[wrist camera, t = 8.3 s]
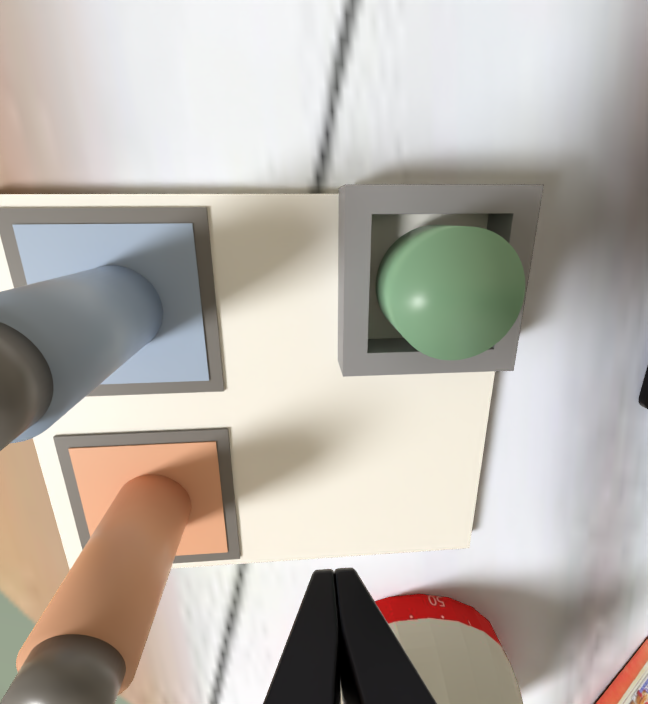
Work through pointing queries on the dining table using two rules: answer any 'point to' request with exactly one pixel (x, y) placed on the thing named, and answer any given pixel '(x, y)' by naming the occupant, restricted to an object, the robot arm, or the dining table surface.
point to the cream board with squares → (271, 369)
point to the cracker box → (630, 681)
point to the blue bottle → (68, 342)
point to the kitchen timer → (452, 649)
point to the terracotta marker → (105, 601)
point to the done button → (451, 289)
